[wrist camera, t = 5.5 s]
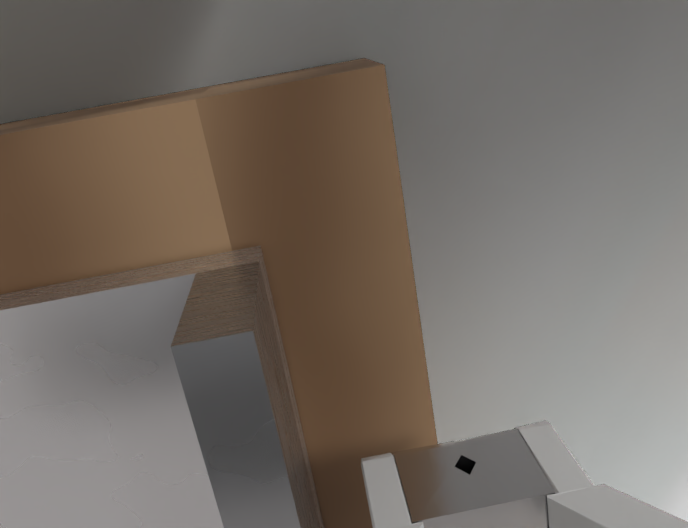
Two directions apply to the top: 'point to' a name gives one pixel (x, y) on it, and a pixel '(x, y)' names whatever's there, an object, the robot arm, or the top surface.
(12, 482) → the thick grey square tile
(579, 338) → the top surface
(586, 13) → the top surface
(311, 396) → the socket
